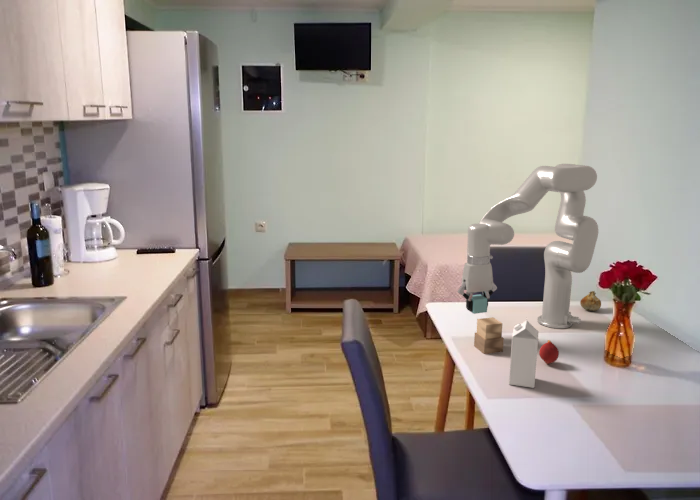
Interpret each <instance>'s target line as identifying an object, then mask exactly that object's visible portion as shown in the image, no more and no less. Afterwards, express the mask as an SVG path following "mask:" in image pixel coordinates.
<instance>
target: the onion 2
mask: <svg viewBox="0 0 700 500" xmlns="http://www.w3.org/2000/svg"><path fill="white" fill-rule="evenodd" d="M596 294H597V293H596V292H595V290H590V292H588V294H586V295H585V296H584V297H582V298H581V299H580V301H579V304H580V306H581V308H582V309H584V310H585V311H588V312H595V311H597V310H598V311H599V309H600V308H601V307H602V300H600V298H598V296H596Z"/></svg>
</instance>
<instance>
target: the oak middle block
mask: <svg viewBox="0 0 700 500" xmlns="http://www.w3.org/2000/svg"><path fill="white" fill-rule="evenodd" d="M476 333H477V334H479V335H480V336H481V337H483V338H484V339H493V338H501V337H503V336H502V335H503V323H502V322H501V321H500V320H498V319H496V318H495V317H483V318H482V317H481V318H477V322H476Z"/></svg>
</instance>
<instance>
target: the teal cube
mask: <svg viewBox="0 0 700 500" xmlns="http://www.w3.org/2000/svg"><path fill="white" fill-rule="evenodd" d="M472 301H473V311H472V312H471V313H472V314H474V315H475V314H483V313H488V307H487V298H486V297H484V296H483V294H482V293H479V294H473V296H472Z"/></svg>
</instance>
